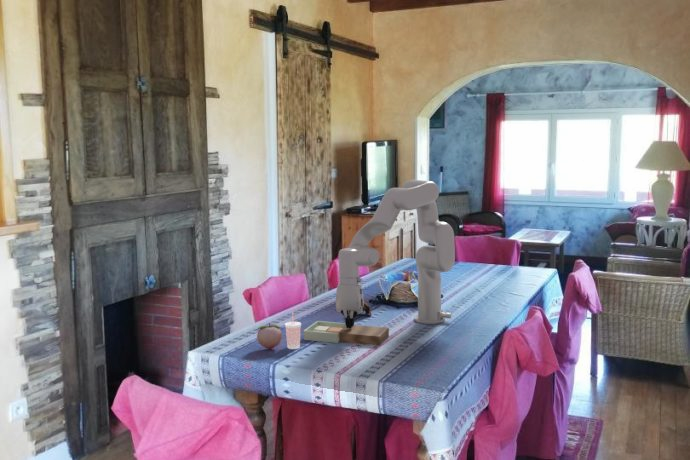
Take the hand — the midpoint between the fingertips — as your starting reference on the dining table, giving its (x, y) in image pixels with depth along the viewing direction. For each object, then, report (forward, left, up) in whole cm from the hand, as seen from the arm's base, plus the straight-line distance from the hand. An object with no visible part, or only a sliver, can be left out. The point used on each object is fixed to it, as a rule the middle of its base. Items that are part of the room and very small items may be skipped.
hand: (349, 327), depth 261 cm
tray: (+9, 0, -4) cm, 10 cm away
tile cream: (+12, 0, -1) cm, 12 cm away
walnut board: (-6, 0, -4) cm, 7 cm away
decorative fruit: (+23, +22, -4) cm, 32 cm away
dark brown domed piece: (+7, -32, -5) cm, 33 cm away
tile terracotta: (+6, 0, -4) cm, 7 cm away
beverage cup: (+16, +17, -4) cm, 24 cm away
